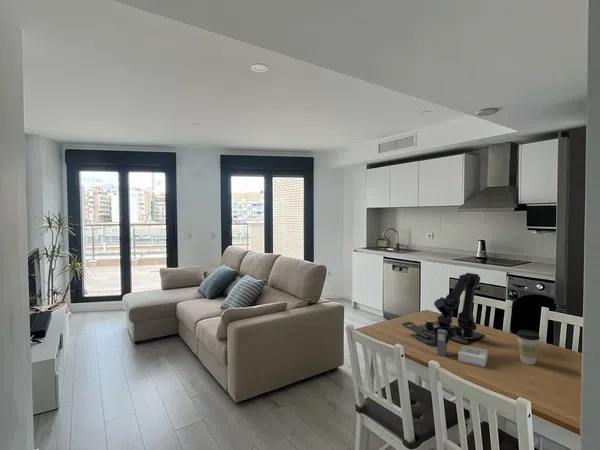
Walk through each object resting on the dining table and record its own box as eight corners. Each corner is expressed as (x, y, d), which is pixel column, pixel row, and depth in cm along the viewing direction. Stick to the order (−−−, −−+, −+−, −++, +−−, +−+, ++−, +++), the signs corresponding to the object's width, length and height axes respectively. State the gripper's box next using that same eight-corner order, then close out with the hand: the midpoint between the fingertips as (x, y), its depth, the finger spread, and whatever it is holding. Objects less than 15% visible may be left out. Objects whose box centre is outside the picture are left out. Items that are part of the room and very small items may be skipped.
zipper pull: (410, 321, 220) (442, 333, 197) (410, 331, 220) (442, 344, 198) (400, 323, 216) (431, 335, 193) (400, 333, 216) (431, 347, 194)
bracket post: (439, 352, 187) (439, 328, 186) (447, 353, 184) (447, 330, 184) (437, 355, 183) (437, 331, 182) (445, 356, 180) (445, 332, 180)
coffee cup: (512, 359, 175) (512, 331, 175) (524, 356, 179) (524, 328, 179) (531, 367, 166) (531, 337, 166) (544, 363, 170) (544, 334, 170)
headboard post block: (462, 353, 185) (462, 345, 184) (487, 358, 178) (487, 349, 177) (458, 361, 175) (458, 352, 175) (484, 367, 168) (484, 358, 168)
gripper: (426, 307, 191) (420, 332, 183) (462, 312, 181) (458, 339, 172) (429, 317, 198) (424, 342, 190) (464, 322, 187) (461, 349, 179)
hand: (441, 343), depth 182 cm, fingers closed on bracket post, 4 cm apart
